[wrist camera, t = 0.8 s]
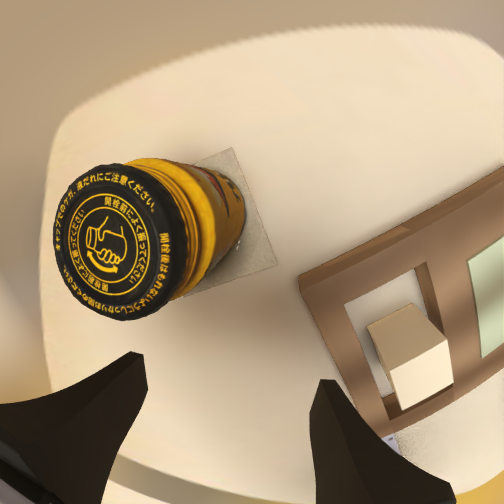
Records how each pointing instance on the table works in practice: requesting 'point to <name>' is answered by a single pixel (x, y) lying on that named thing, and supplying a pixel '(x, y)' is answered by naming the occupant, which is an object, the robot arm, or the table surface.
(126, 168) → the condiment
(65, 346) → the table surface
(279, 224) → the table surface
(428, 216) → the board
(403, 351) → the cream block
